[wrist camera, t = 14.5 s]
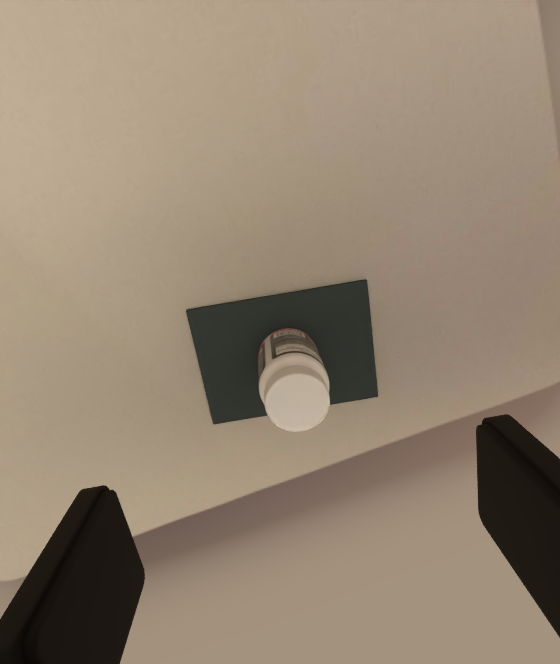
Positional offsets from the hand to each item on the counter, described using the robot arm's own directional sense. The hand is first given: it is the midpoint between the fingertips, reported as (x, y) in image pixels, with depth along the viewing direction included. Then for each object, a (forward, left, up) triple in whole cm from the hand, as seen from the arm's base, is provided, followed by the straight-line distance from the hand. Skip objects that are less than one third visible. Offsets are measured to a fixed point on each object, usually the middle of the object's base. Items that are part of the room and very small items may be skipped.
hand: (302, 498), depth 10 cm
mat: (0, +5, -22) cm, 23 cm away
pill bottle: (0, +5, -22) cm, 23 cm away
